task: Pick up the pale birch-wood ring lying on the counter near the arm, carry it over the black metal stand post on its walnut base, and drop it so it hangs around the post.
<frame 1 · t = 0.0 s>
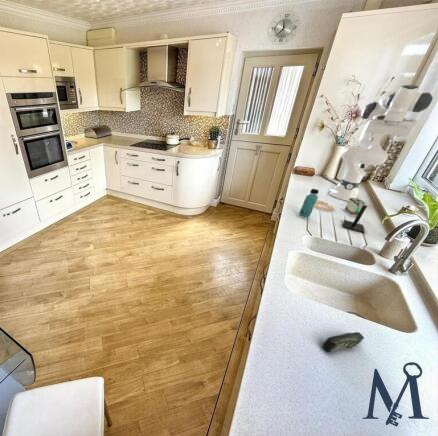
hand: (380, 142, 141), 48 cm above the worktop, tool pointing down, fingers open, 8 cm apart
dark elongated rock: (341, 345, 78), on the worktop
ring: (321, 205, 170), point 1 cm above the worktop
post: (352, 227, 147), on the worktop
food container: (352, 214, 162), on the worktop
beverage bottle: (303, 217, 155), on the worktop
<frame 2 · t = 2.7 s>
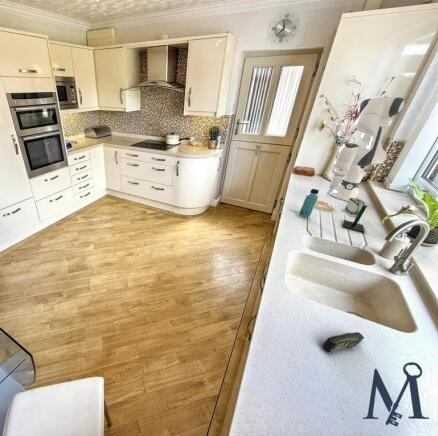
hand: (330, 189, 158), 16 cm above the worktop, tool pointing down, fingers open, 8 cm apart
nothing on the worktop moved.
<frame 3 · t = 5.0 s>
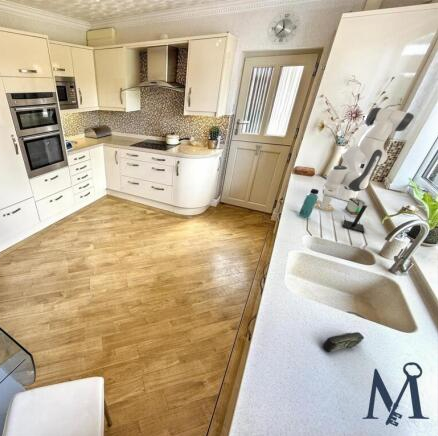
hand: (321, 207, 165), 2 cm above the worktop, tool pointing down, fingers closed on ring, 2 cm apart
ring: (321, 205, 170), point 1 cm above the worktop, touching gripper
everything else where it was.
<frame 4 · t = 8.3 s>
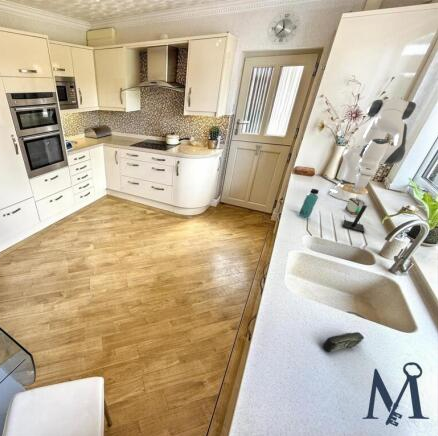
hand: (354, 190, 141), 22 cm above the worktop, tool pointing down, fingers closed on ring, 2 cm apart
ring: (353, 188, 145), point 21 cm above the worktop, touching gripper
everything else where it was.
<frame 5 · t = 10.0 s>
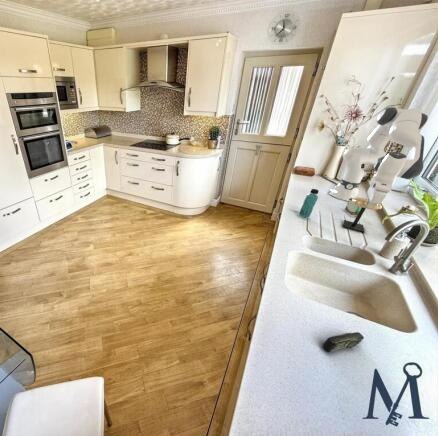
hand: (368, 205, 134), 17 cm above the worktop, tool pointing down, fingers closed on ring, 2 cm apart
ring: (366, 203, 138), point 17 cm above the worktop, touching gripper
everything else where it was.
when the fingers open (13 cm above the worktop, at t = 11.5 s): ring drops 10 cm, resting on post.
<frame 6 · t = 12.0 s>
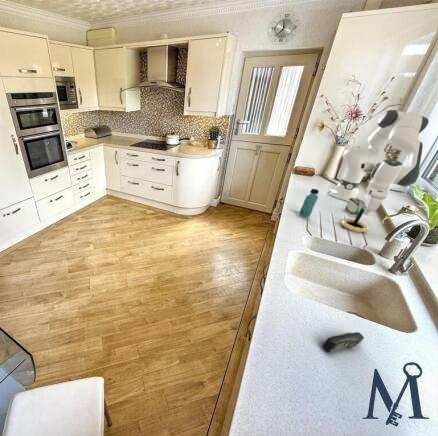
hand: (364, 211, 136), 13 cm above the worktop, tool pointing down, fingers open, 7 cm apart
ring: (354, 225, 144), point 2 cm above the worktop, touching post
everything else where it was.
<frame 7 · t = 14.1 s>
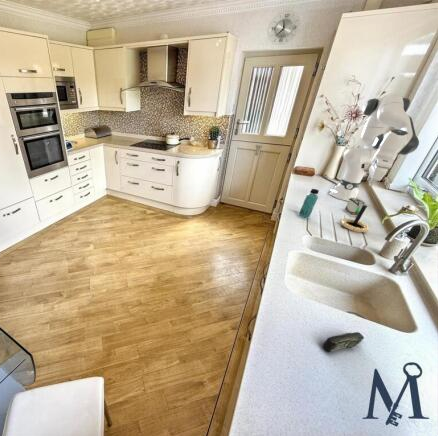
hand: (369, 183, 138), 27 cm above the worktop, tool pointing down, fingers open, 8 cm apart
nothing on the worktop moved.
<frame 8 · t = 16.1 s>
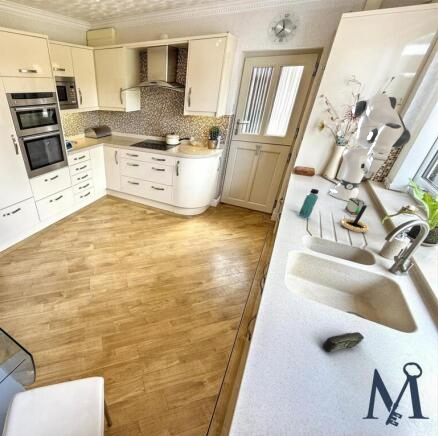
hand: (366, 175, 144), 29 cm above the worktop, tool pointing down, fingers open, 8 cm apart
nothing on the worktop moved.
at the end: ring 2.2 cm from the post (horizontally); ring point 2.4 cm above the worktop; the gripper is holding nothing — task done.
